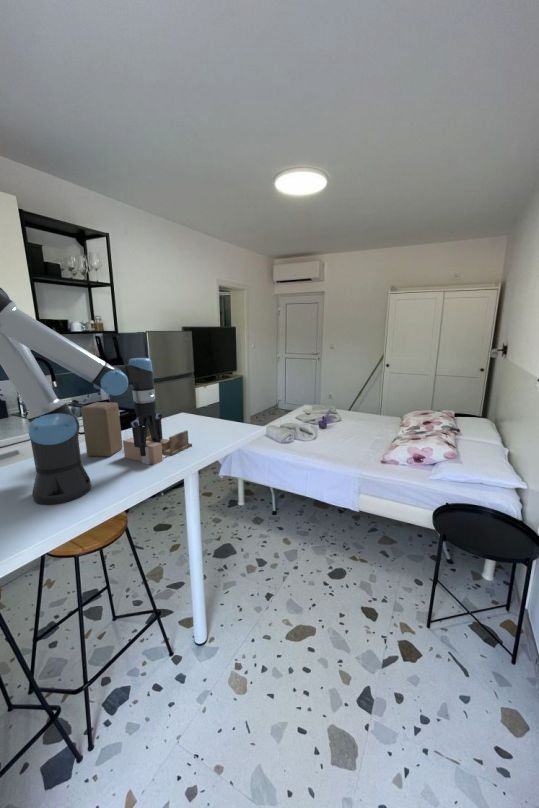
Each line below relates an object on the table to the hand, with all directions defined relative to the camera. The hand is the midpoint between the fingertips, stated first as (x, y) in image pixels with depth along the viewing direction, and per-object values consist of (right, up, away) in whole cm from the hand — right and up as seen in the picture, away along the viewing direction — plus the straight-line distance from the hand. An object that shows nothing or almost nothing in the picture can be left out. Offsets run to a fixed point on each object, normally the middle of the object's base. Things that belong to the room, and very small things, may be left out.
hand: (151, 460), depth 126 cm
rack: (-1, +4, +15) cm, 15 cm away
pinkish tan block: (-4, 0, +2) cm, 4 cm away
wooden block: (-22, +2, +9) cm, 23 cm away
